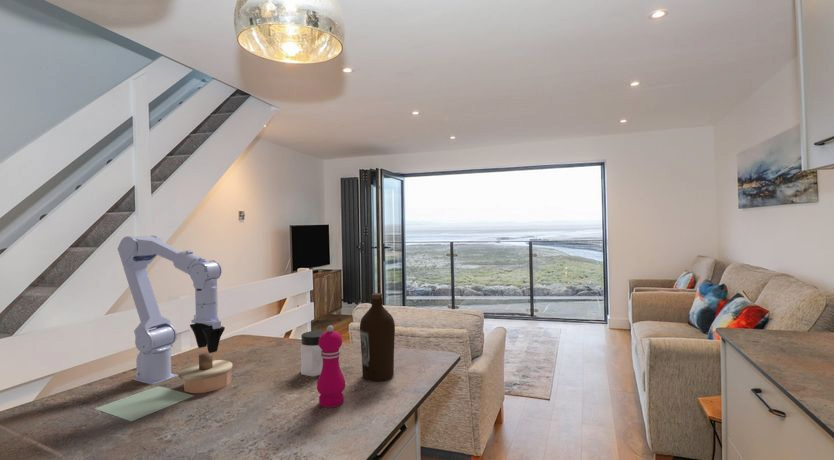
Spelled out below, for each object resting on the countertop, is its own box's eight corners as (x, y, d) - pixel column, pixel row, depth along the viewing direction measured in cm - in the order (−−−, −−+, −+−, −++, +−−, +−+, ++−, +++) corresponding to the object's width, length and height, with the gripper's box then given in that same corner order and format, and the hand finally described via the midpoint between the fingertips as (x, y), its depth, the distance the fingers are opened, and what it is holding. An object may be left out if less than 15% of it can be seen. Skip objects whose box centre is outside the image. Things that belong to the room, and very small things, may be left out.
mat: (94, 410, 104) (94, 408, 104) (158, 387, 118) (158, 386, 118) (131, 423, 97) (131, 421, 97) (194, 397, 111) (194, 395, 111)
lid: (166, 375, 116) (166, 358, 115) (210, 360, 128) (210, 345, 128) (200, 383, 109) (199, 365, 109) (243, 366, 122) (242, 350, 122)
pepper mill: (350, 398, 109) (349, 323, 109) (336, 410, 102) (335, 329, 102) (326, 395, 111) (325, 321, 111) (311, 406, 104) (310, 327, 104)
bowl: (174, 389, 117) (174, 374, 116) (212, 375, 127) (212, 361, 127) (202, 397, 111) (202, 380, 111) (239, 381, 122) (239, 366, 122)
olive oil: (389, 367, 132) (387, 290, 132) (400, 379, 122) (399, 295, 122) (356, 373, 128) (355, 292, 127) (366, 385, 118) (364, 298, 118)
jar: (305, 378, 124) (304, 339, 123) (297, 371, 130) (296, 333, 130) (333, 372, 128) (333, 334, 128) (324, 365, 135) (323, 329, 135)
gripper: (182, 302, 122) (183, 347, 122) (201, 308, 112) (202, 358, 112) (207, 298, 127) (208, 342, 127) (228, 304, 117) (228, 351, 117)
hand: (207, 349), depth 120 cm, fingers open, 7 cm apart
